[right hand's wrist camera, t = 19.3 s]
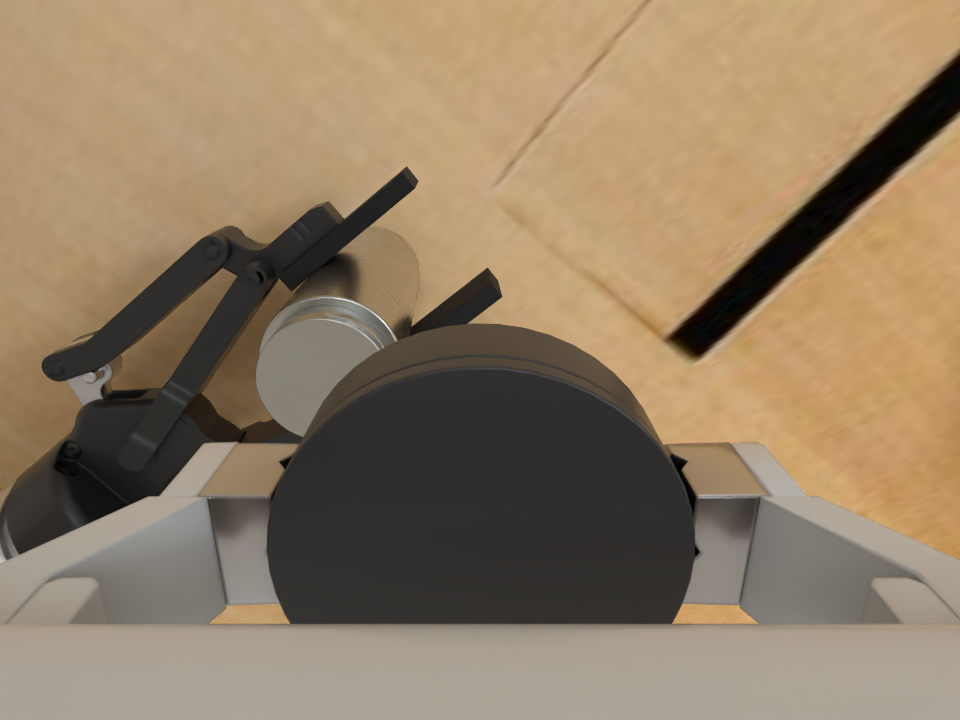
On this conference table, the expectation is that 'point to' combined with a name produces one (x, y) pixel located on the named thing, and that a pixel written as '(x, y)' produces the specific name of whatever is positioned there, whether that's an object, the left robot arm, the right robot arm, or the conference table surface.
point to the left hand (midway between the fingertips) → (453, 231)
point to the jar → (336, 324)
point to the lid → (480, 492)
